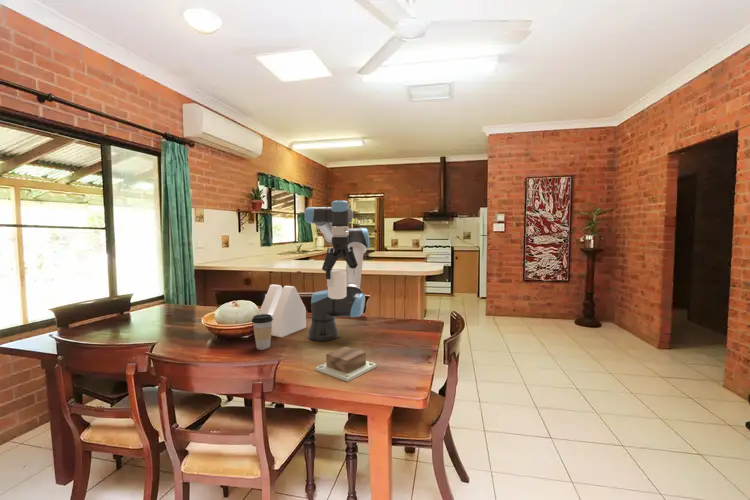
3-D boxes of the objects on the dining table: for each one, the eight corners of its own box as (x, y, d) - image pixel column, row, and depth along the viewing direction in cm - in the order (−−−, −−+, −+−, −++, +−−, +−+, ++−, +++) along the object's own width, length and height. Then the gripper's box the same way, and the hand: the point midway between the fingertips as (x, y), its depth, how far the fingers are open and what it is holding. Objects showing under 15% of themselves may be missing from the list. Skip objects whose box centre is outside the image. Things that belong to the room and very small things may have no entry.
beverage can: (327, 296, 156) (327, 269, 156) (345, 295, 157) (345, 269, 157) (327, 299, 148) (327, 271, 148) (347, 299, 149) (347, 271, 149)
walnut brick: (326, 366, 137) (326, 354, 137) (345, 358, 146) (345, 346, 145) (347, 373, 130) (347, 360, 130) (365, 364, 139) (365, 352, 139)
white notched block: (284, 325, 200) (283, 282, 198) (306, 328, 193) (305, 284, 191) (259, 334, 183) (258, 287, 181) (281, 338, 176) (280, 289, 174)
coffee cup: (277, 345, 165) (276, 314, 164) (265, 352, 156) (264, 319, 155) (260, 343, 168) (260, 313, 167) (247, 350, 159) (246, 317, 158)
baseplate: (315, 370, 136) (315, 365, 136) (345, 357, 150) (345, 353, 150) (347, 381, 126) (347, 376, 126) (376, 366, 139) (376, 362, 139)
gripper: (325, 237, 140) (326, 289, 142) (365, 235, 160) (365, 281, 162) (313, 237, 145) (313, 287, 146) (352, 235, 165) (353, 280, 166)
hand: (340, 284), depth 154 cm, fingers open, 13 cm apart
